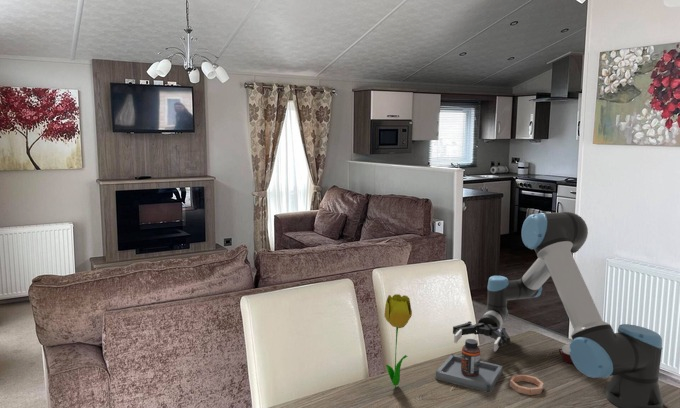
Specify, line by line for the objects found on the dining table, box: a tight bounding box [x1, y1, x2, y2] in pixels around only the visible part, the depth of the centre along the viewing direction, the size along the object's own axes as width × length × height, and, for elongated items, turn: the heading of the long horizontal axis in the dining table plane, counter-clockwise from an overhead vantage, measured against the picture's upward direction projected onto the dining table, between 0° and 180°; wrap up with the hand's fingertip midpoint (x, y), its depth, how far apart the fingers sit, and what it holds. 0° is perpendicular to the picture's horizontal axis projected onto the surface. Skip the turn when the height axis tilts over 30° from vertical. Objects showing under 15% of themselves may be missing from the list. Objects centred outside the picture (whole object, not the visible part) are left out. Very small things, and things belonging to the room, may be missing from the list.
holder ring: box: [509, 374, 544, 396], centre depth 167 cm, size 10×10×2 cm
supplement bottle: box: [461, 338, 481, 376], centre depth 173 cm, size 6×6×11 cm
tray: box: [435, 353, 504, 394], centre depth 174 cm, size 18×16×2 cm
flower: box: [384, 293, 413, 388], centre depth 164 cm, size 9×8×30 cm
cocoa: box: [558, 343, 574, 365], centre depth 185 cm, size 10×6×12 cm, turn 13°
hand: (474, 343), depth 178 cm, fingers open, 13 cm apart
